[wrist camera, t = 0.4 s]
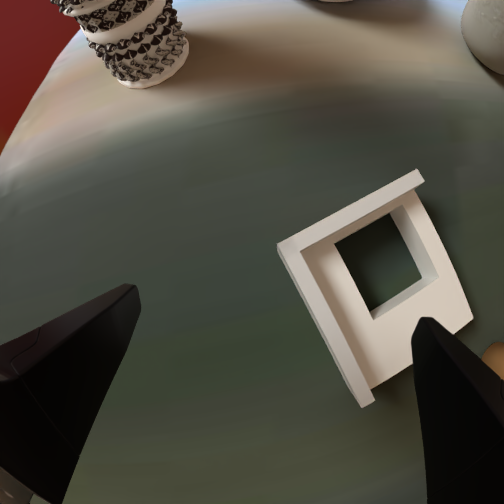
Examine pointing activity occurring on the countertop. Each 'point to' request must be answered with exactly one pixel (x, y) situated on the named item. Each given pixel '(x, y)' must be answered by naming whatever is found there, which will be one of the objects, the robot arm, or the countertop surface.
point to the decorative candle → (132, 37)
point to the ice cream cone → (495, 358)
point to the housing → (350, 301)
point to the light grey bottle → (485, 31)
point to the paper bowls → (335, 0)
